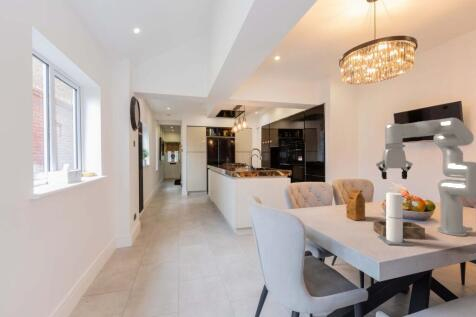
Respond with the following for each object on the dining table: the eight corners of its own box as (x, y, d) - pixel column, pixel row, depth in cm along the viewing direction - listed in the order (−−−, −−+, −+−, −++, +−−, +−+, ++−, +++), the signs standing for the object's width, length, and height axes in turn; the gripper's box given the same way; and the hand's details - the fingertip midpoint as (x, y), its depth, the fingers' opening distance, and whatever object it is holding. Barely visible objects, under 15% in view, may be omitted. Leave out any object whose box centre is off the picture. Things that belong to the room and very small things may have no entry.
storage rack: (411, 231, 130) (411, 221, 130) (425, 238, 119) (424, 228, 119) (373, 230, 134) (373, 220, 133) (382, 237, 122) (382, 226, 122)
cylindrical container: (395, 243, 111) (395, 195, 111) (383, 238, 118) (382, 192, 118) (406, 241, 113) (406, 194, 113) (392, 236, 120) (392, 192, 120)
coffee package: (356, 216, 166) (356, 187, 166) (367, 220, 153) (367, 190, 153) (344, 216, 165) (343, 187, 165) (354, 221, 153) (353, 190, 153)
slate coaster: (399, 238, 120) (399, 236, 120) (412, 246, 109) (412, 244, 109) (378, 237, 122) (378, 235, 122) (388, 245, 111) (388, 243, 111)
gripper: (407, 147, 118) (407, 178, 118) (373, 147, 121) (373, 178, 121) (416, 146, 110) (416, 179, 111) (379, 147, 113) (380, 179, 113)
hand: (394, 179), depth 116 cm, fingers open, 9 cm apart
